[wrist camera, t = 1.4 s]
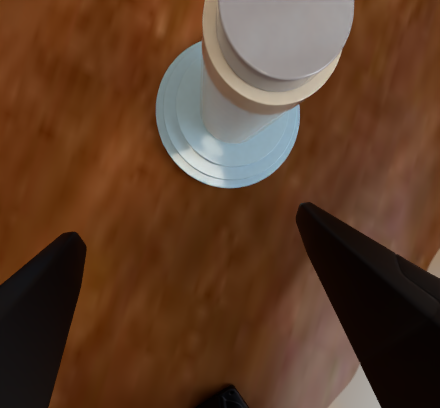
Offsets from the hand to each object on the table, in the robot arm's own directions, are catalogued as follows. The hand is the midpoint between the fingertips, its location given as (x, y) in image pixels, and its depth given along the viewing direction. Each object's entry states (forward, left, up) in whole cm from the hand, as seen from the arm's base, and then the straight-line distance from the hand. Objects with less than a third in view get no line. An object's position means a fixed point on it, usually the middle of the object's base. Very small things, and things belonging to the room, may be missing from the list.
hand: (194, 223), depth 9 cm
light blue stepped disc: (+5, -7, -13) cm, 16 cm away
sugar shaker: (+5, -7, -10) cm, 14 cm away
